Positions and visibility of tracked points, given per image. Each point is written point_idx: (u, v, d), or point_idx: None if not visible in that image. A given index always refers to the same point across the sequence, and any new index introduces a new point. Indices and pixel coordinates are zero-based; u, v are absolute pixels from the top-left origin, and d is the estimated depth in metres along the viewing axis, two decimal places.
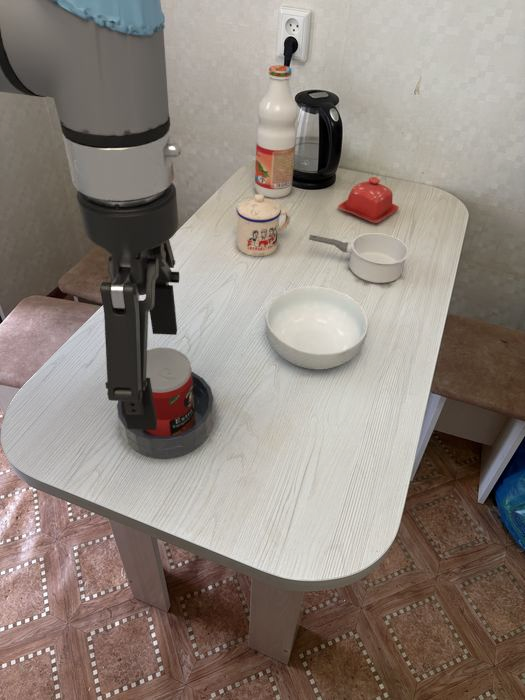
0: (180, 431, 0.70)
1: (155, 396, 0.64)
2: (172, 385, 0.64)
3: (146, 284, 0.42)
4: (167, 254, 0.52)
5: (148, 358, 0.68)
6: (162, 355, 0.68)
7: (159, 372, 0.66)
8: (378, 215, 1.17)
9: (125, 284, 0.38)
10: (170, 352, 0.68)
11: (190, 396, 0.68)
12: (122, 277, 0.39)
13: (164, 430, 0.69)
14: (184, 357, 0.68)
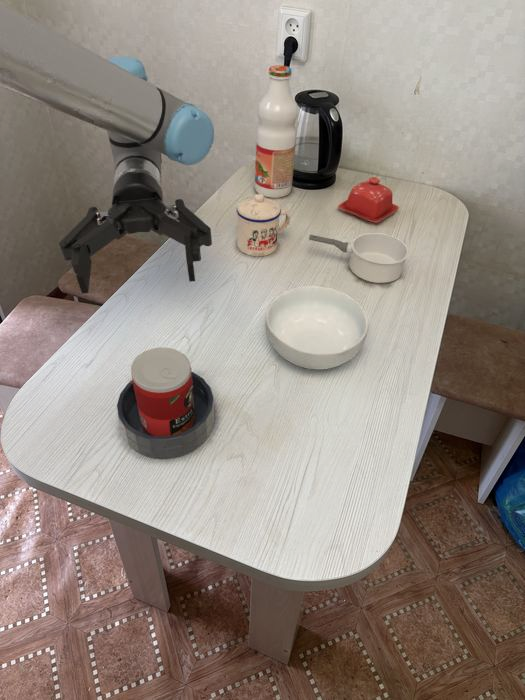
0: (180, 431, 0.70)
1: (155, 396, 0.64)
2: (172, 385, 0.64)
3: None
4: None
5: (148, 358, 0.68)
6: (162, 355, 0.68)
7: (159, 372, 0.66)
8: (378, 215, 1.17)
9: None
10: (170, 352, 0.68)
11: (190, 396, 0.68)
12: None
13: (164, 430, 0.69)
14: (184, 357, 0.68)
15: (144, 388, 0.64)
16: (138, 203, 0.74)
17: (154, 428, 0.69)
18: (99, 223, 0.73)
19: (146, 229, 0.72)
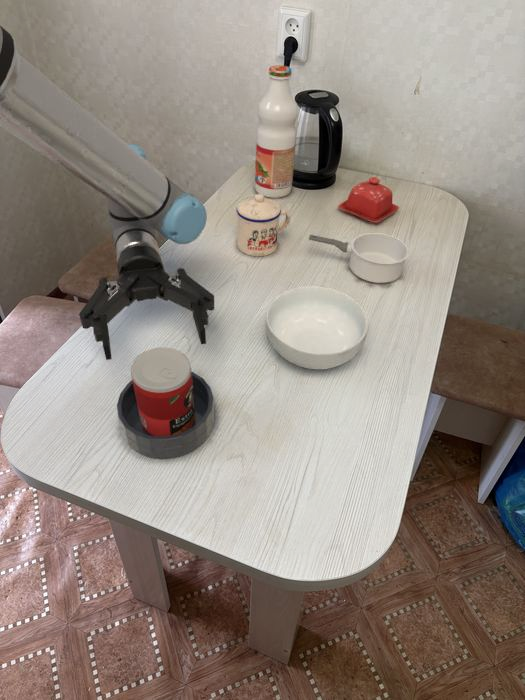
0: (180, 431, 0.70)
1: (155, 396, 0.64)
2: (172, 385, 0.64)
3: None
4: None
5: (148, 358, 0.68)
6: (162, 355, 0.68)
7: (159, 372, 0.66)
8: (378, 215, 1.17)
9: None
10: (170, 352, 0.68)
11: (190, 396, 0.68)
12: None
13: (164, 430, 0.69)
14: (184, 357, 0.68)
15: (144, 388, 0.64)
16: (144, 273, 0.83)
17: (154, 428, 0.69)
18: (109, 292, 0.81)
19: (153, 296, 0.81)
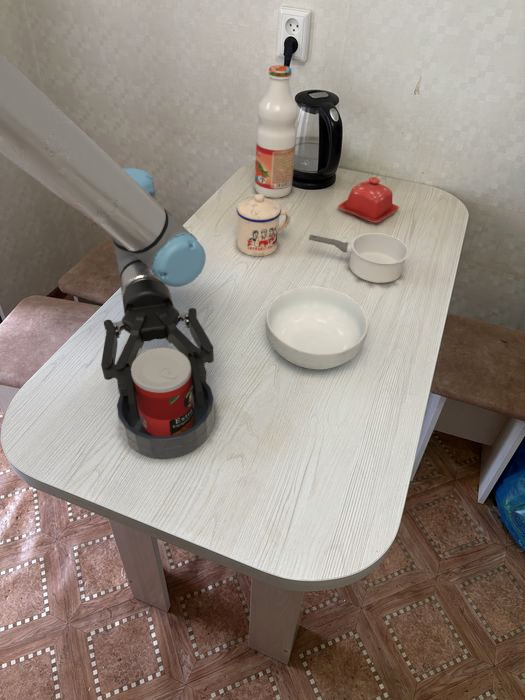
0: (180, 431, 0.70)
1: (155, 396, 0.64)
2: (172, 385, 0.64)
3: None
4: (114, 361, 0.71)
5: (148, 358, 0.68)
6: (162, 355, 0.68)
7: (159, 372, 0.66)
8: (378, 215, 1.17)
9: None
10: (170, 352, 0.68)
11: (190, 396, 0.68)
12: None
13: (164, 430, 0.69)
14: (184, 357, 0.68)
15: (144, 388, 0.64)
16: (151, 310, 0.76)
17: (154, 428, 0.69)
18: (118, 334, 0.73)
19: (162, 336, 0.74)
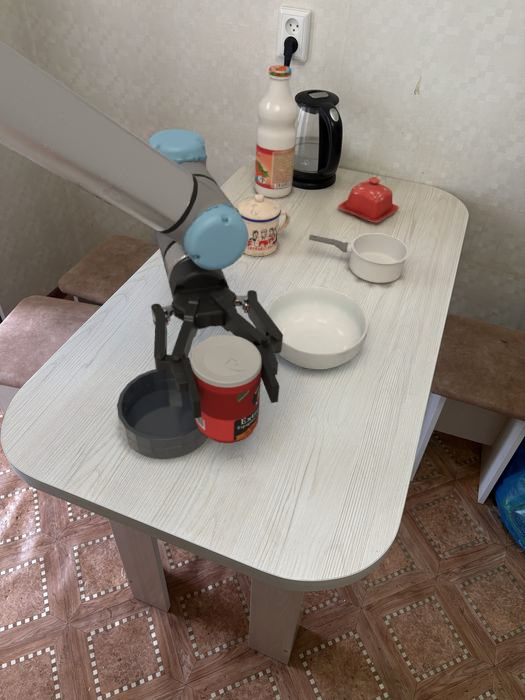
0: (244, 433, 0.60)
1: (221, 391, 0.54)
2: (243, 379, 0.53)
3: None
4: (166, 352, 0.60)
5: (209, 347, 0.57)
6: (225, 343, 0.57)
7: (224, 363, 0.55)
8: (378, 215, 1.17)
9: None
10: (234, 340, 0.58)
11: (258, 392, 0.57)
12: None
13: (227, 433, 0.59)
14: (252, 346, 0.57)
15: (209, 382, 0.53)
16: (204, 292, 0.65)
17: (214, 430, 0.59)
18: (168, 321, 0.63)
19: (219, 323, 0.63)
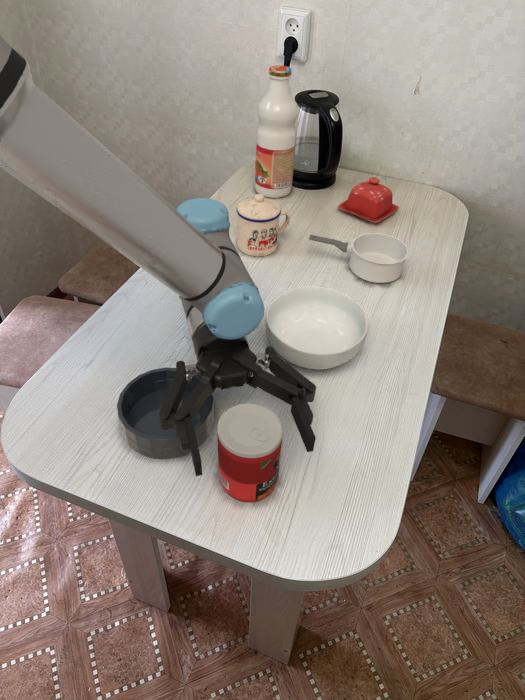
0: (265, 493, 0.64)
1: (246, 461, 0.58)
2: (266, 450, 0.58)
3: None
4: (176, 409, 0.64)
5: (234, 416, 0.61)
6: (248, 412, 0.62)
7: (248, 433, 0.60)
8: (378, 215, 1.17)
9: None
10: (257, 409, 0.62)
11: (279, 457, 0.62)
12: None
13: (249, 494, 0.63)
14: (273, 415, 0.61)
15: (235, 453, 0.58)
16: (227, 353, 0.69)
17: (237, 492, 0.63)
18: (188, 379, 0.67)
19: (240, 384, 0.67)
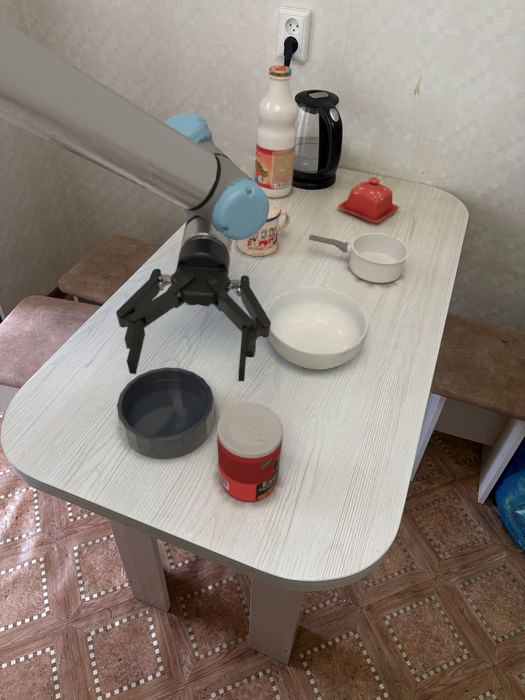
0: (265, 493, 0.64)
1: (246, 461, 0.58)
2: (266, 450, 0.58)
3: None
4: None
5: (234, 416, 0.61)
6: (248, 412, 0.62)
7: (248, 433, 0.60)
8: (378, 215, 1.17)
9: None
10: (257, 409, 0.62)
11: (279, 457, 0.62)
12: None
13: (249, 494, 0.63)
14: (273, 415, 0.61)
15: (235, 453, 0.58)
16: (203, 272, 0.71)
17: (237, 492, 0.63)
18: (160, 287, 0.71)
19: (206, 304, 0.70)
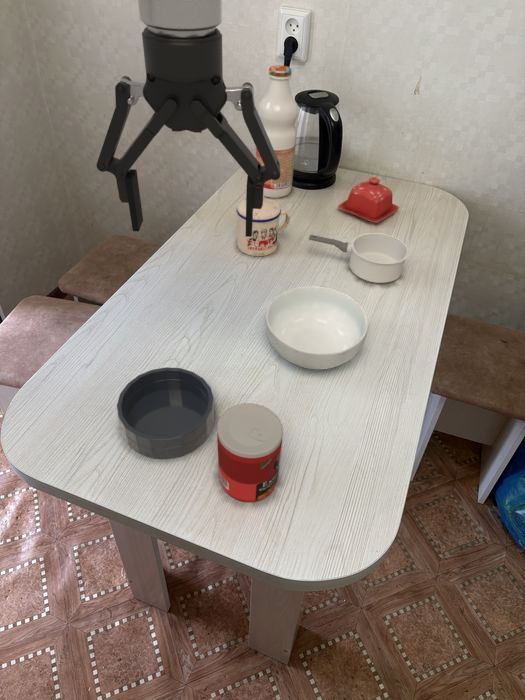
0: (265, 493, 0.64)
1: (246, 461, 0.58)
2: (266, 450, 0.58)
3: None
4: None
5: (234, 416, 0.61)
6: (248, 412, 0.62)
7: (248, 433, 0.60)
8: (378, 215, 1.17)
9: (247, 84, 0.51)
10: (257, 409, 0.62)
11: (279, 457, 0.62)
12: (235, 88, 0.51)
13: (249, 494, 0.63)
14: (273, 415, 0.61)
15: (235, 453, 0.58)
16: (186, 86, 0.50)
17: (237, 492, 0.63)
18: None
19: None
